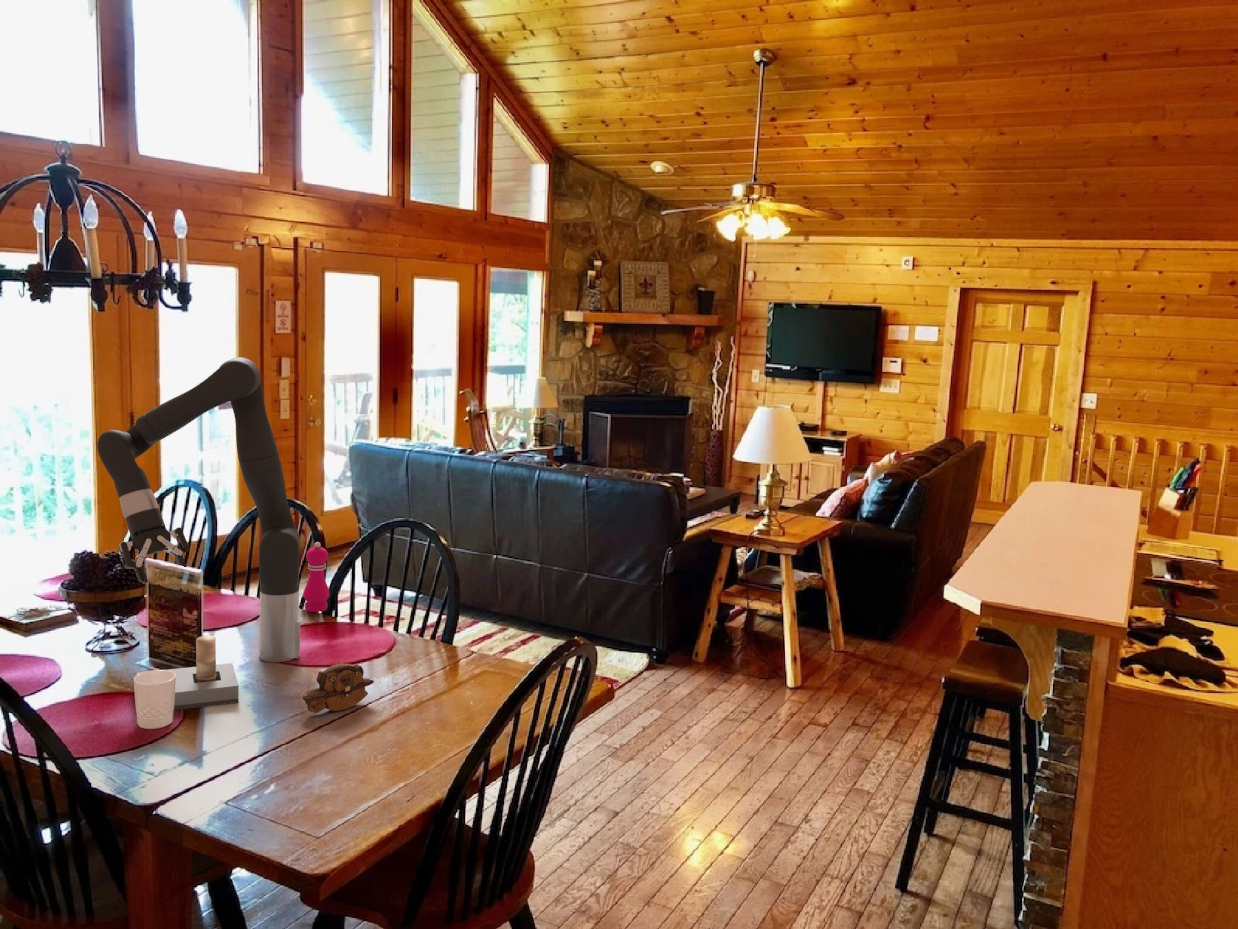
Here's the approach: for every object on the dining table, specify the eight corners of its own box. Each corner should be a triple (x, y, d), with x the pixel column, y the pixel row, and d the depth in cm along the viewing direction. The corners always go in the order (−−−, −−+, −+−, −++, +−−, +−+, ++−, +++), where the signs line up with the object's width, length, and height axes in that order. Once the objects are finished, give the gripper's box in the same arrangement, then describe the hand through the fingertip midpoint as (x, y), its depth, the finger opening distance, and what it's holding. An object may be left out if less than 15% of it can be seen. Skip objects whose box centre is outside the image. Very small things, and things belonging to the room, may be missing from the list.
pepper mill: (333, 606, 282) (334, 540, 278) (323, 613, 274) (324, 546, 271) (309, 604, 282) (310, 538, 279) (298, 611, 275) (299, 543, 272)
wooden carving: (312, 723, 205) (313, 679, 204) (300, 716, 208) (301, 672, 207) (376, 702, 218) (378, 661, 216) (364, 696, 221) (366, 655, 219)
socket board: (232, 679, 225) (232, 663, 224) (238, 702, 213) (238, 685, 212) (136, 689, 216) (136, 672, 215) (137, 714, 203) (137, 696, 203)
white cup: (184, 719, 203) (184, 674, 201) (155, 733, 196) (155, 687, 194) (155, 711, 205) (154, 667, 204) (125, 725, 198) (124, 679, 196)
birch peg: (215, 685, 219) (215, 634, 217) (217, 692, 215) (216, 641, 213) (195, 687, 217) (195, 636, 215) (196, 694, 213) (196, 643, 211)
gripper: (114, 516, 216) (137, 584, 215) (177, 500, 226) (199, 565, 225) (105, 523, 221) (127, 590, 220) (167, 508, 231) (189, 571, 230)
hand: (164, 577), depth 223 cm, fingers open, 8 cm apart
